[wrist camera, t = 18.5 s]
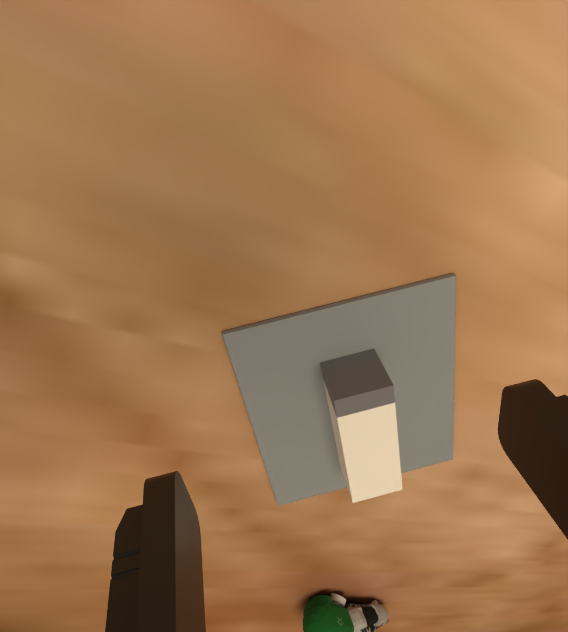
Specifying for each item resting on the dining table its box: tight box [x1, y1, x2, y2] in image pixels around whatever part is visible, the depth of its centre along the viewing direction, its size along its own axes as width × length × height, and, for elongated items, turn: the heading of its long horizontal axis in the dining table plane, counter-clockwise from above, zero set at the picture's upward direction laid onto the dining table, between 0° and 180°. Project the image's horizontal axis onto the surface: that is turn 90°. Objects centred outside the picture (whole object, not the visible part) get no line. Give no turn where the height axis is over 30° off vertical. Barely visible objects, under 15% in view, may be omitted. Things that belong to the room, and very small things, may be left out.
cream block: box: [320, 348, 402, 503], centre depth 46 cm, size 5×5×14 cm
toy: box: [303, 593, 389, 632], centre depth 68 cm, size 9×7×15 cm
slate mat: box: [222, 273, 456, 506], centre depth 48 cm, size 20×24×1 cm
